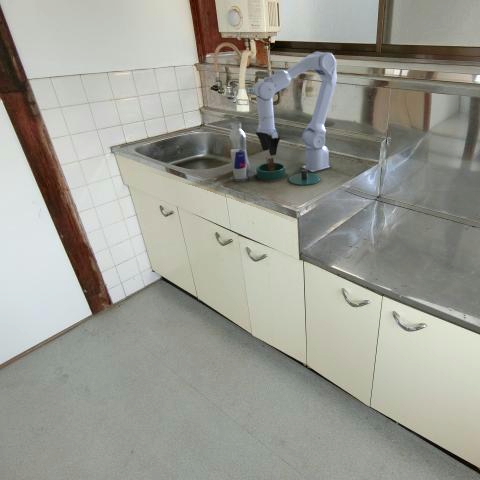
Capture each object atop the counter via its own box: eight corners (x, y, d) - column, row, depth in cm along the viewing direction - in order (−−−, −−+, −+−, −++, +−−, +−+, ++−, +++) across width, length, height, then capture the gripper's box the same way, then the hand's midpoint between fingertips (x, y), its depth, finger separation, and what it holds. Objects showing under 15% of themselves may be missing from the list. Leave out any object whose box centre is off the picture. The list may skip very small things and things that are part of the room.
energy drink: (246, 182, 141) (242, 152, 135) (233, 182, 141) (228, 152, 135) (249, 177, 145) (245, 147, 139) (236, 177, 146) (231, 148, 139)
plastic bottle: (253, 171, 151) (248, 122, 141) (240, 175, 147) (233, 125, 137) (244, 168, 155) (238, 120, 145) (231, 172, 151) (224, 123, 141)
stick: (267, 175, 146) (266, 157, 142) (272, 174, 147) (271, 156, 143) (270, 177, 144) (268, 158, 140) (275, 175, 145) (273, 157, 141)
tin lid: (307, 173, 148) (307, 162, 146) (326, 181, 140) (326, 170, 138) (283, 180, 142) (282, 169, 139) (301, 189, 133) (301, 178, 131)
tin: (275, 169, 153) (274, 160, 150) (290, 176, 145) (290, 167, 143) (252, 176, 146) (251, 166, 144) (267, 183, 139) (266, 174, 137)
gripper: (249, 114, 138) (253, 149, 145) (263, 121, 127) (266, 159, 134) (266, 112, 141) (269, 146, 147) (281, 119, 130) (284, 156, 136)
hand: (269, 152), depth 141 cm, fingers open, 7 cm apart
